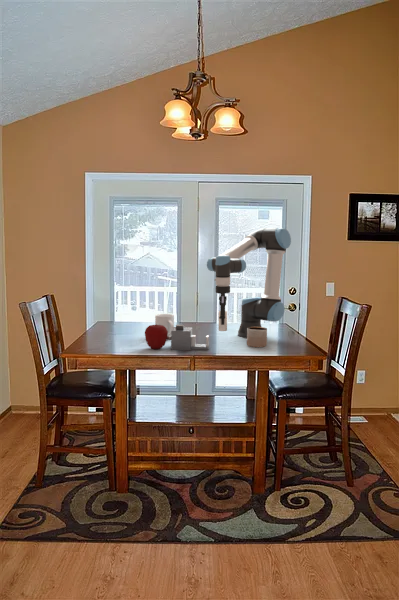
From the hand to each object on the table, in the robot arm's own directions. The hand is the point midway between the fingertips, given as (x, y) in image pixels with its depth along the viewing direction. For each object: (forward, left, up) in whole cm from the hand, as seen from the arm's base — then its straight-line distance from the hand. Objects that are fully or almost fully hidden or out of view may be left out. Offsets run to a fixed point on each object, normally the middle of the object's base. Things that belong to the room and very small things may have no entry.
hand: (222, 329), depth 250 cm
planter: (-19, -11, -10) cm, 24 cm away
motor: (+18, 0, -10) cm, 21 cm away
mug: (+33, -26, -10) cm, 44 cm away
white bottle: (0, 0, 0) cm, 0 cm away
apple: (+34, +4, -10) cm, 36 cm away
